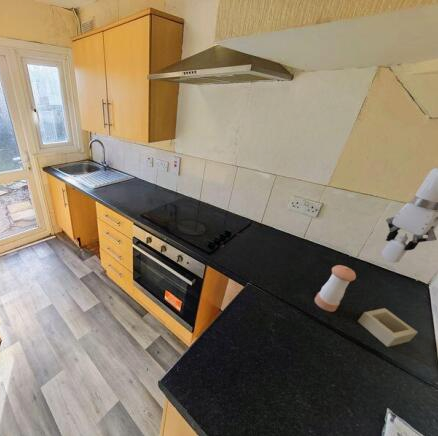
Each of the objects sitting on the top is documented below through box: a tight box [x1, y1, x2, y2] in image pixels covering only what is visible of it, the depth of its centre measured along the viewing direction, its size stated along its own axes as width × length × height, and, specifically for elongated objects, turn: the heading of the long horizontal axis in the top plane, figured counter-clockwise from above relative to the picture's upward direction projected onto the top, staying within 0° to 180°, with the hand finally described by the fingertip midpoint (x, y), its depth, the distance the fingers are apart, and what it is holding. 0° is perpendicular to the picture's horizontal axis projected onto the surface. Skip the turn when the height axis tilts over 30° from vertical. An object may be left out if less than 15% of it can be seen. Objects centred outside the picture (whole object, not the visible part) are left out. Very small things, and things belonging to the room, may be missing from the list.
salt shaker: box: [314, 264, 357, 313], centre depth 86 cm, size 7×7×19 cm
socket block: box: [357, 307, 418, 348], centre depth 80 cm, size 10×10×5 cm
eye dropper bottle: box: [380, 232, 409, 263], centre depth 89 cm, size 4×6×12 cm
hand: (398, 244), depth 89 cm, fingers closed on eye dropper bottle, 5 cm apart
